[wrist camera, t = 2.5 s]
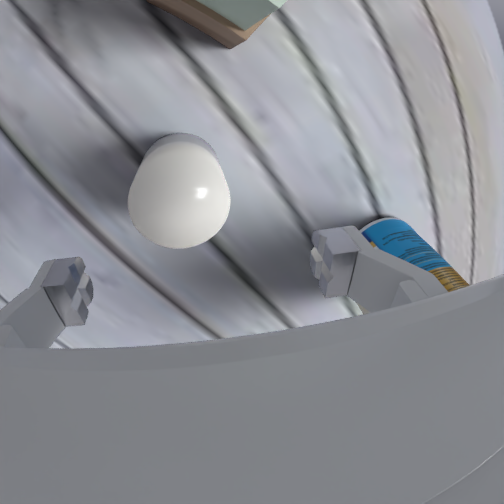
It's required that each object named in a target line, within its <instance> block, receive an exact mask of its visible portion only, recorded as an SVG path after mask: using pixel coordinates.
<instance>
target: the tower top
mask: <svg viewBox="0 0 504 504" xmlns="http://www.w3.org/2000/svg"><path fill="white" fill-rule="evenodd" d="M196 1H198V2H200V3H201V4H203V5H205V6H207V7H208V8H210V9H212V10H213V11H215V12H217V13H218V14H220V15H221V16H223V17H225V18H226V19H228V20H229V21H231V22H232V23H234V24H235V25H237V26H238V27H240V28H241V29H243V30H244V31H245V30H247V29H248V28H250V27H251V26H253V25H254V24H256V23H257V22H259V21H260V20H262V19H263V18H265V17H266V16H268V15H269V14H271V13H272V12H274V11H276V10H277V9H279V8H280V7H281V6H282V5H283V4H284V3H285V2H286V1H287V0H196Z"/></svg>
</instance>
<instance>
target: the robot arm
mask: <svg viewBox="0 0 504 504" xmlns="http://www.w3.org/2000/svg"><path fill="white" fill-rule="evenodd" d="M312 243H313V244H314V246H315V247H314V248H313V249H312V250H311V252H310V267H311V271H312V273H313V275H314V277H315V278H317V279H319V287H320V289H321V291H322V293H323V295H324V297H325V298H331V297H337V296H344V295H348V297H350V298H351V299H353V300H354V301H355V302H357V303H358V304H359V305H361V306H362V307H364V308H365V309H366V310H368V311H369V312H371V313H367V314H363V315H359V316H354V317H350V318H345V319H340V320H335V321H330V322H325V323H320V324H315V325H309V326H304V327H298V328H292V329H286V330H280V331H274V332H267V333H261V334H254V335H247V336H239V337H232V338H224V339H215V340H207V341H198V342H188V343H177V344H165V345H152V346H137V347H117V348H81V349H51V348H49V347H50V346H51V345H52V344H53V342H54V341H55V340H56V339H57V337H58V336H59V335H60V334H61V332H62V331H63V330H64V329H65V326H79V325H85V322H86V319H87V315H88V312H89V311H88V309H87V306H88V305H89V304H90V303H91V302H92V299H93V285H92V281H91V279H90V277H89V276H88V275H87V274H86V273H84V270H85V267H86V266H85V264H84V262H83V260H82V258H80V257H73V258H64V259H54V260H48V261H45V262H44V263H43V264H42V266H41V268H40V270H39V271H38V273H37V275H36V277H35V278H34V280H33V282H32V284H31V286H30V287H29V289H25V290H24V291H23V292H21V293H20V294H19V295H18V296H17V297H15V298H14V299H13V300H12V301H11V302H9V303H8V304H7V305H6V306H5V307H3V308H2V309H1V310H0V504H504V274H502V275H500V276H497V277H494V278H491V279H488V280H485V281H482V282H479V283H476V284H473V285H470V286H467V287H464V288H461V289H458V290H454V291H451V292H448V291H447V290H446V289H445V288H444V286H443V285H442V284H441V283H440V282H439V280H438V279H437V278H436V277H435V276H434V275H433V274H432V273H430V272H428V271H426V270H424V269H421V268H419V267H417V266H415V265H413V264H411V263H409V262H406V261H404V260H402V259H400V258H398V257H396V256H393V255H391V254H389V253H387V252H384V251H382V250H380V249H374V248H373V246H372V245H371V244H370V243H369V242H368V241H367V239H366V238H365V237H364V236H363V235H362V234H361V232H360V231H359V230H358V229H357V228H356V227H355V226H345V227H338V228H330V229H321V230H314V231H313V234H312Z"/></svg>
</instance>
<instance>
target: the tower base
mask: <svg viewBox="0 0 504 504" xmlns="http://www.w3.org/2000/svg"><path fill="white" fill-rule="evenodd" d="M146 1H147V2H149V3H151V4H153V5H155V6H157V7H159V8H161V9H163V10H165V11H167V12H168V13H170V14H172V15H174V16H176V17H178V18H180V19H181V20H183V21H185V22H187V23H188V24H190V25H192V26H194V27H195V28H197V29H199V30H200V31H202V32H204V33H205V34H207V35H209V36H210V37H212V38H213V39H215V40H217V41H218V42H220V43H221V44H223V45H224V46H226V47H227V48H229V49H232V48H233V47H235V46H237V45H239V44H240V43H242V42H244V41H246V40H247V39H248V38H249V37H250V35H251V34H252V33H253V32H254V31H255V30H256V29H257V28H258V27H259V26H260V25H261V24H262V22H263V21H264V20H265V19H266V18H267V17H268V16H269V15H270V14H269V15H268V16H266V17H265V18H263V19H262V20H260V21H259V22H257V23H256V24H254V25H253V26H251V27H250V28H248V29H247V30H245V31H244V30H243V29H241V28H240V27H238V26H237V25H235V24H234V23H232V22H231V21H229V20H228V19H226V18H225V17H223V16H221V15H220V14H218V13H217V12H215V11H213V10H212V9H210V8H208V7H207V6H205V5H203V4H201V3H200V2H198V1H196V0H146Z"/></svg>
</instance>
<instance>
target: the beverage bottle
mask: <svg viewBox="0 0 504 504" xmlns="http://www.w3.org/2000/svg"><path fill="white" fill-rule="evenodd" d="M359 231H360V232H361V234H362V235H363V236H364V237H365V238H366V239H367V241H368V242H369V243H370V244H371V245H372V246H373V248H374V249H380V250H382V251H384V252H387V253H389V254H391V255H393V256H396V257H398V258H400V259H402V260H404V261H406V262H409V263H411V264H413V265H415V266H417V267H419V268H421V269H424V270H426V271H428V272H430V273H432V274H433V275H434V276H435V277H436V278H437V279H438V280H439V282H440V283H441V284H442V285H443V286H444V288H445V289H446V290H447V291H448V292H451V291H454V290H458V289H461V288H464V287H467V286H470V285H469V284H468V283H467V282H466V281H465V280H464V279H463V278H462V277H461V276H460V275H459V274H458V273H457V272H456V271H455V270H454V269H453V268H452V267H451V266H450V265H449V264H448V263H447V262H446V261H445V260H444V259H443V258H442V257H441V256H440V255H439V254H438V253H437V252H436V251H435V250H434V249H433V248H432V247H431V246H430V245H429V244H428V243H427V242H425V241H424V240H423V239H422V238H421V237H420V236H419V235H418V234H417V233H416V232H415V231H414V230H413V229H412V228H411V227H410V226H409V225H408V224H407V223H406V222H404V221H402V220H400V219H397V218H382V219H379V220H376V221H373V222H371V223H369V224H368V225H366V226H365V227H363V228H362V229H361V230H359ZM356 303H357V302H356ZM357 305H358V306H359V308H360V309H361V311H362V312H363V314H367V313H371V312H369V311H368V310H366V309H365V308H364V307H362V306H361V305H359V304H358V303H357Z"/></svg>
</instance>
